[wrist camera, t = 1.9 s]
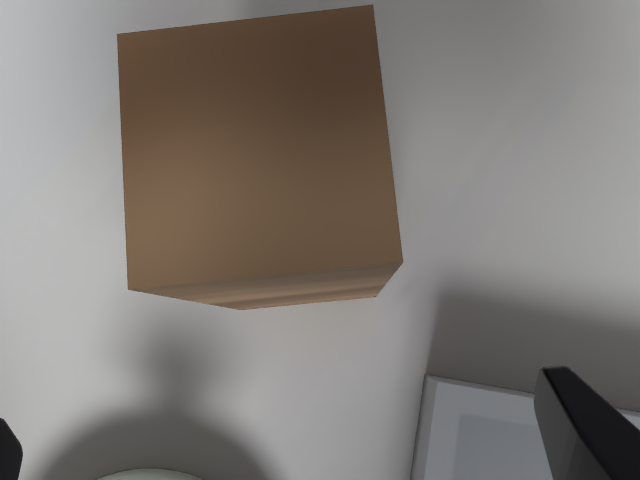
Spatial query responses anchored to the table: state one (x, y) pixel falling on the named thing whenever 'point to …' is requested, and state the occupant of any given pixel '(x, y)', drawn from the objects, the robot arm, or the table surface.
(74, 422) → the table surface
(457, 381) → the tray
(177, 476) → the crank wheel
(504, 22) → the table surface
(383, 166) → the block
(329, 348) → the table surface
